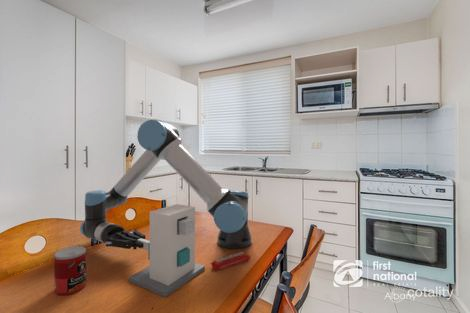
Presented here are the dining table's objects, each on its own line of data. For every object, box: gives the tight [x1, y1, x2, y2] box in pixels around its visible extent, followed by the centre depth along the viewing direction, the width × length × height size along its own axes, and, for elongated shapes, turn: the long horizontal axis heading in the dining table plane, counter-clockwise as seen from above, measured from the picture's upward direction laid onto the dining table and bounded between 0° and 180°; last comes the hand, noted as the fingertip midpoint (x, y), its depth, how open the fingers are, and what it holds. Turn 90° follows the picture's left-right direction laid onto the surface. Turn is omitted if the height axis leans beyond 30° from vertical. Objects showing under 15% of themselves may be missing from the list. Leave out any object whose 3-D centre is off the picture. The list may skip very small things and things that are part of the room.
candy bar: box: [210, 250, 251, 271], centre depth 86 cm, size 16×4×3 cm, turn 126°
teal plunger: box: [147, 242, 190, 266], centre depth 77 cm, size 14×6×6 cm, turn 60°
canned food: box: [53, 245, 87, 296], centre depth 70 cm, size 8×8×11 cm
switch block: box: [128, 203, 206, 298], centre depth 78 cm, size 16×18×22 cm
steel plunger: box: [177, 217, 194, 235], centre depth 76 cm, size 14×6×6 cm, turn 60°
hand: (151, 246), depth 82 cm, fingers closed
